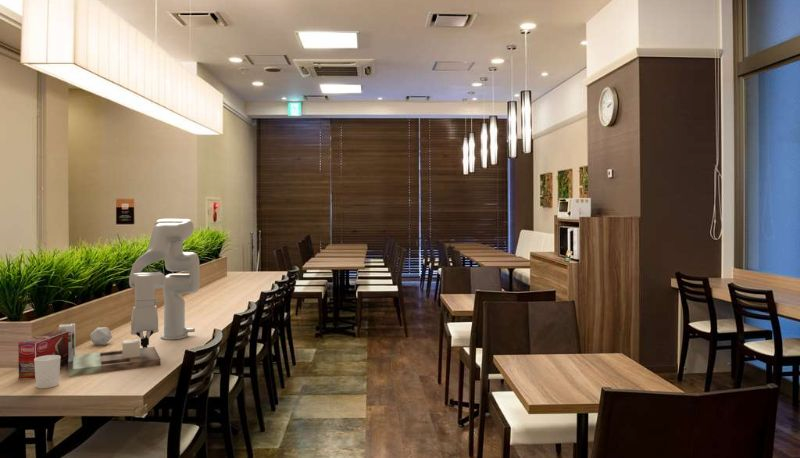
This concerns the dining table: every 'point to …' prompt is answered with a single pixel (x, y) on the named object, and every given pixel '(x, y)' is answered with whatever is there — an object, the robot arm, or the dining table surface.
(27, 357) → the ice cream box
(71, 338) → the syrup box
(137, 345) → the cream block
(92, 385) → the dining table surface
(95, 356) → the board
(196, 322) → the dining table surface
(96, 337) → the die
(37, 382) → the white cup
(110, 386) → the dining table surface
